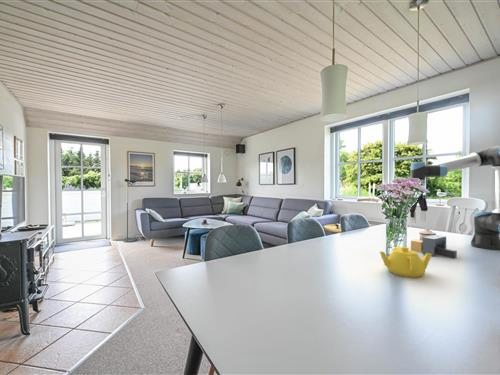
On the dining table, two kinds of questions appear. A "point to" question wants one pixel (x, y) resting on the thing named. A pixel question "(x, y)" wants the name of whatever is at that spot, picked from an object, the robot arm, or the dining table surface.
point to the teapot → (406, 262)
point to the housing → (433, 244)
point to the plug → (418, 246)
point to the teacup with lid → (426, 233)
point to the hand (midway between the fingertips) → (418, 221)
